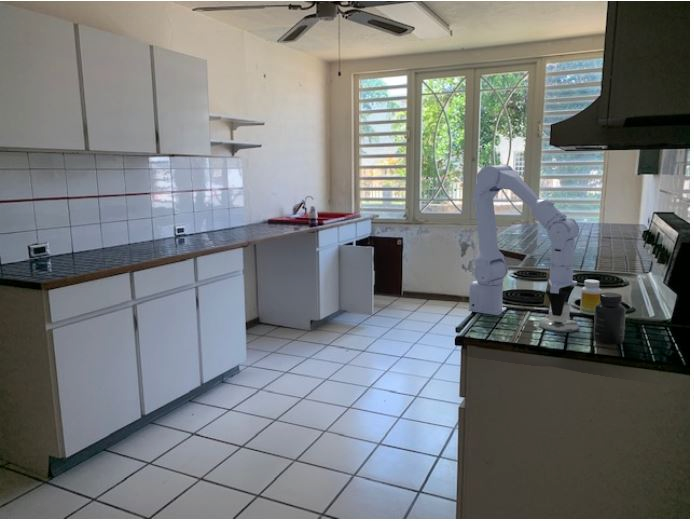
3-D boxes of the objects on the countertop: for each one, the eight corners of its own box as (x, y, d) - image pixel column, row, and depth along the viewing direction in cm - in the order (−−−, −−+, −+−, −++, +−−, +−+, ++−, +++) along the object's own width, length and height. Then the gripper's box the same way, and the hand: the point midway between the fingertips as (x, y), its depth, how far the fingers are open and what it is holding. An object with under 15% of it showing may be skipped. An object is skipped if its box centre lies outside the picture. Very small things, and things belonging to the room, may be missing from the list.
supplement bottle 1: (602, 315, 146) (604, 283, 144) (582, 314, 147) (584, 282, 145) (597, 310, 151) (599, 279, 149) (578, 309, 152) (580, 278, 150)
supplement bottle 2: (610, 334, 130) (614, 290, 128) (629, 343, 124) (633, 297, 121) (587, 337, 129) (590, 292, 127) (604, 346, 122) (608, 299, 120)
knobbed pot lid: (534, 328, 136) (535, 317, 136) (543, 318, 144) (544, 308, 144) (574, 334, 131) (574, 323, 130) (581, 324, 139) (582, 313, 138)
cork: (567, 307, 155) (569, 272, 153) (547, 307, 155) (549, 273, 153) (559, 302, 161) (561, 268, 159) (540, 302, 161) (542, 269, 159)
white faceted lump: (547, 319, 137) (548, 303, 136) (551, 315, 140) (552, 299, 139) (566, 322, 134) (568, 305, 133) (570, 318, 138) (571, 302, 137)
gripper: (572, 271, 126) (568, 322, 129) (583, 261, 138) (580, 308, 140) (542, 268, 130) (540, 318, 133) (556, 258, 142) (553, 304, 144)
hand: (559, 312), depth 137 cm, fingers closed on white faceted lump, 4 cm apart
